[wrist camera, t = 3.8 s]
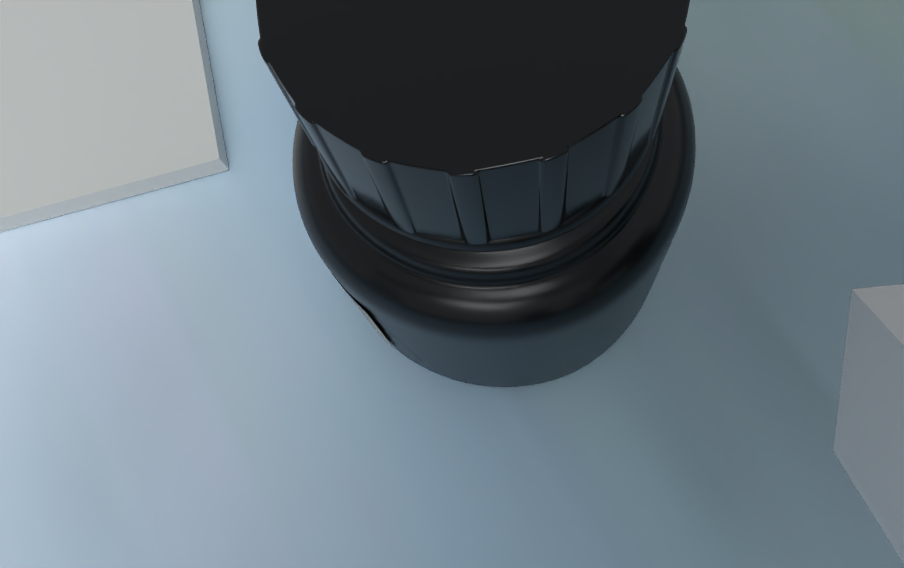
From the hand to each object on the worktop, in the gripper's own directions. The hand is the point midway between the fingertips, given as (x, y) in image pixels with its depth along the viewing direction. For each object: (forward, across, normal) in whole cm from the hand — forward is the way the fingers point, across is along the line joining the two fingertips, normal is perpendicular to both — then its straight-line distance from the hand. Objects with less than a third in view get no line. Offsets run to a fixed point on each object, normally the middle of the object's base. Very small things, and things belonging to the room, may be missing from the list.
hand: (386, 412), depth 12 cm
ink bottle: (+12, +2, -3) cm, 13 cm away
